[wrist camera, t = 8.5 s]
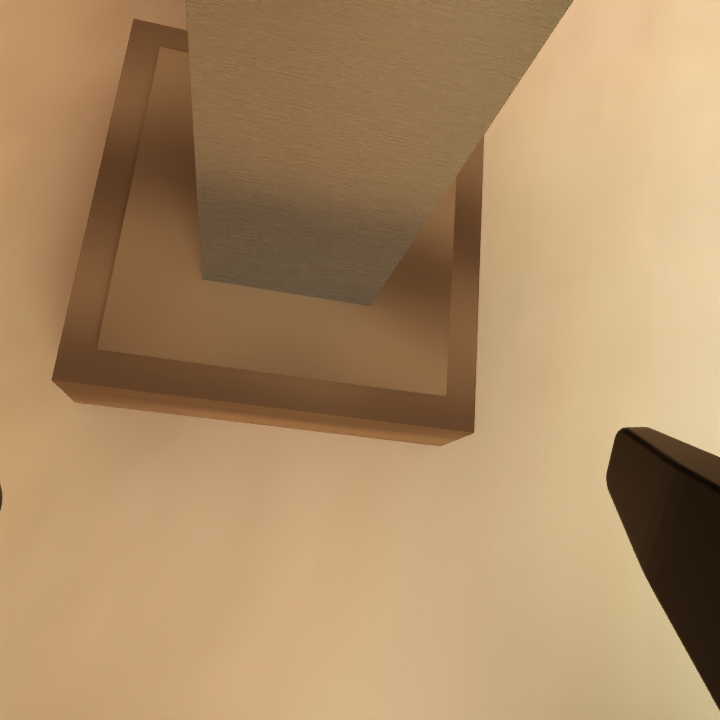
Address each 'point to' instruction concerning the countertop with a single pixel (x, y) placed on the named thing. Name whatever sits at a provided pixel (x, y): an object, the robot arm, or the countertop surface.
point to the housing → (341, 128)
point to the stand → (256, 296)
